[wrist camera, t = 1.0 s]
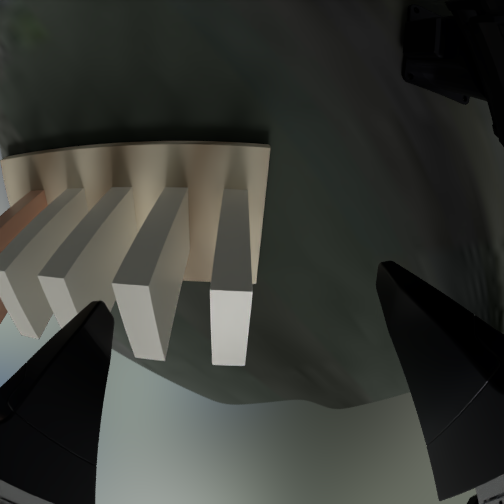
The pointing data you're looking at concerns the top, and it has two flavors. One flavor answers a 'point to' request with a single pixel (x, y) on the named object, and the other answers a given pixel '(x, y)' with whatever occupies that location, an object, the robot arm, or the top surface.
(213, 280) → the domino
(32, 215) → the domino
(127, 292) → the domino
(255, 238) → the beige flat rectangular board
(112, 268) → the domino
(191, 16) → the top surface
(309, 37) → the top surface
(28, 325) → the domino
